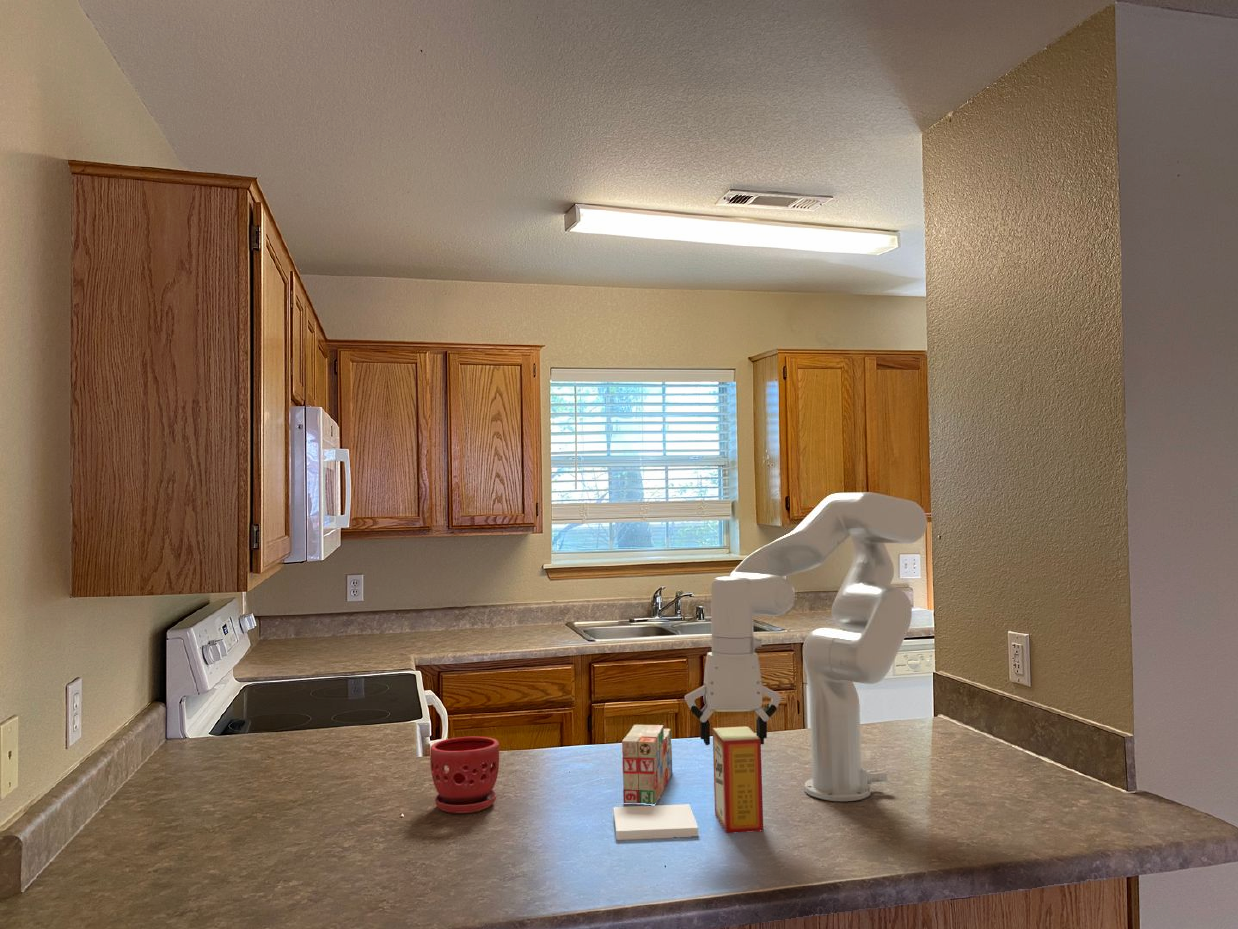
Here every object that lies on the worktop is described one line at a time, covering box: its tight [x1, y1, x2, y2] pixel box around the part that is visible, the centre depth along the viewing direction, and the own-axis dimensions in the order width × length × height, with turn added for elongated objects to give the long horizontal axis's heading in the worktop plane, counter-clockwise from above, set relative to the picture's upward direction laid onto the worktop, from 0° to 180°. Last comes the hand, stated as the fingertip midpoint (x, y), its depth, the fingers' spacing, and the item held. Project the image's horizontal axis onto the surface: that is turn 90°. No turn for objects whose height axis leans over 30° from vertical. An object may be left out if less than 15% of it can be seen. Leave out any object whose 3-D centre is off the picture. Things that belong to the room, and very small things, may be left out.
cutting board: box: [612, 803, 699, 841], centre depth 159 cm, size 14×12×2 cm
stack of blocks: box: [621, 724, 673, 804], centre depth 181 cm, size 21×6×12 cm, turn 168°
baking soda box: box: [712, 725, 764, 834], centre depth 160 cm, size 10×6×16 cm
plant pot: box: [429, 736, 500, 814], centre depth 172 cm, size 13×13×12 cm
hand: (733, 743), depth 160 cm, fingers open, 9 cm apart
